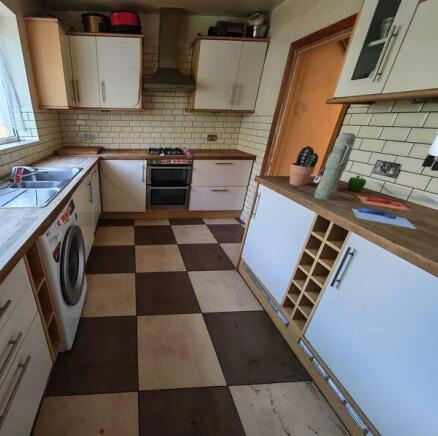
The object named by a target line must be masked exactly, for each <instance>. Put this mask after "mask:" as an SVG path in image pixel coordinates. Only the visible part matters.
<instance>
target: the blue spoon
mask: <svg viewBox="0 0 438 436" xmlns="http://www.w3.org/2000/svg"><path fill="white" fill-rule="evenodd" d="M357 210H358V211H360V212H364V213H370V214H376V215H381V216H384V217H387V218H391V219H395V218H396V217H397V215H395V214H393V213H389V212H386V211H385V210H380V209H374V208H367V207H362V206H361V207H358V209H357Z"/></svg>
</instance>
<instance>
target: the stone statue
mask: <svg viewBox="0 0 438 436" xmlns="http://www.w3.org/2000/svg"><path fill="white" fill-rule="evenodd" d="M355 143H356V134H354V133H350V132H342V133H340V134H339V135H338V136H337V138H336V139H335V143H334V144H333V149H332V151H331V152H330V154H329V155H328V157H327V161H326V162H325V166H324V171H323V173H322V177H321V179H320V182H319V183H318V184H317V187H316V189H315V191H314V192H315V193H314V199H317V200H323V201H333V199H334V197H335V196H336V193H337V191H338V185H339V182H340V180H341V178H342V175H343V172H344V171H345V170H346V168H347V166H348V163H349V161H350V155H351V151H352V149H353V147H354V144H355Z"/></svg>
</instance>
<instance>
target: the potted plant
mask: <svg viewBox="0 0 438 436" xmlns="http://www.w3.org/2000/svg"><path fill="white" fill-rule="evenodd" d="M318 162H319V155H318V154H317V152H314V148H313V147H311V146H310V145H307V146H304V147H302V148H301V150H300V151H299V152H298V154H297V157H296V161H295V162H291V164H290V168H289V172H290V173H289V184H290V185H291V186H295V187H305V185H306V184H307V182H308V181H309V179H310V177H311V175H313V174H314V172H315V169H316V165H317V163H318Z"/></svg>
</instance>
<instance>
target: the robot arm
mask: <svg viewBox="0 0 438 436" xmlns="http://www.w3.org/2000/svg"><path fill="white" fill-rule="evenodd" d="M436 133H437V135H436V136H435V138H434V140H433V141H432V143H431V145H430V147H429V149H428V152H427V155H426V156H425V158H424V160H423V162H422V164H421V167H423V168H430V171H432V172H433V171H434V172H438V131H436Z"/></svg>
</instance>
